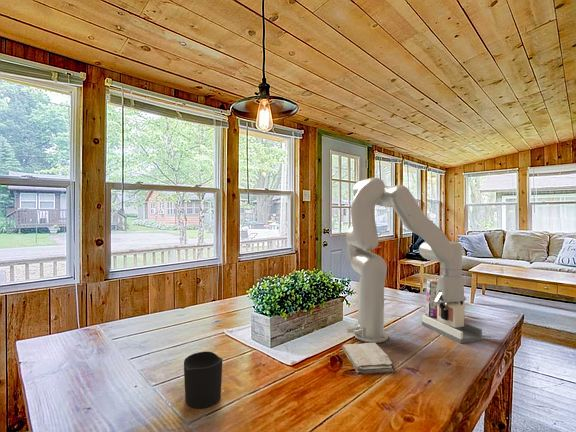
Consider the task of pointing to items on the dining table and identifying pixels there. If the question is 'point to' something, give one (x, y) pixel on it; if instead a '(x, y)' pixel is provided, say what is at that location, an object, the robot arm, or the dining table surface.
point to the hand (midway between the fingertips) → (450, 318)
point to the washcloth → (368, 358)
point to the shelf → (454, 330)
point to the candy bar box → (431, 298)
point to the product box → (452, 315)
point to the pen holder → (202, 379)
